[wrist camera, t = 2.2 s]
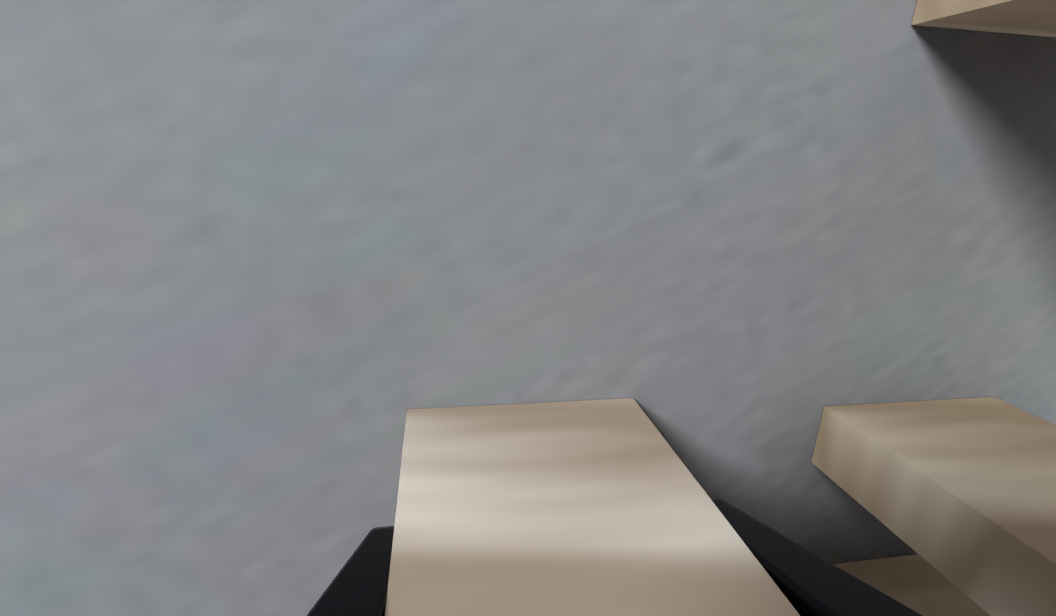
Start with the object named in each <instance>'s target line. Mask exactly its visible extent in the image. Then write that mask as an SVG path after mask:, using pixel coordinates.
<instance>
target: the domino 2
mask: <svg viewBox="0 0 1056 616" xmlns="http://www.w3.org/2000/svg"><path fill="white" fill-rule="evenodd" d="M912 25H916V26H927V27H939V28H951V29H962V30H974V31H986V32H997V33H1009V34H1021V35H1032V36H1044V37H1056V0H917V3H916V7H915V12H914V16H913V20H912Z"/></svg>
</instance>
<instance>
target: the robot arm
mask: <svg viewBox="0 0 1056 616" xmlns="http://www.w3.org/2000/svg"><path fill="white" fill-rule="evenodd" d="M710 499H711V500H712V501H713V503H714V504H715V505H716V507H717V508H718V509H719V511H720V512H721V513H722V514H723V516H724V517H725V518H726V520H727V521H728V522H729V524H730V525H731V526H732V527H733V529H734V530H735V531H736V533H737V534H738V535H739V537H740V538H741V539H742V541H743V542H744V543H745V544H746V546H747V547H748V548H749V550H750V551H751V552H752V554H753V555H754V556H755V558H756V559H757V560H758V561H759V563H760V564H761V565H762V567H763V568H764V569H765V570H766V572H767V573H768V574H769V576H770V577H771V578H772V580H773V581H774V582H775V584H776V585H777V586H778V587H779V589H780V590H781V591H782V593H783V594H784V595H785V597H786V598H787V599H788V600H789V602H790V603H791V604H792V606H793V607H794V608H795V610H796V611H797V612H798V614H799V615H800V616H923V615H921V614H920V613H918V612H916V611H914V610H913V609H911V608H909V607H907V606H906V605H904V604H902V603H900V602H899V601H897V600H895V599H893V598H892V597H890V596H888V595H886V594H885V593H883V592H881V591H880V590H878V589H876V588H874V587H873V586H871V585H869V584H867V583H866V582H864V581H862V580H860V579H859V578H857V577H855V576H853V575H852V574H850V573H848V572H846V571H845V570H843V569H841V568H839V567H838V566H836V565H834V564H832V563H831V562H829V561H827V560H825V559H824V558H822V557H820V556H818V555H817V554H815V553H813V552H811V551H810V550H808V549H806V548H805V547H803V546H801V545H799V544H798V543H796V542H794V541H792V540H791V539H789V538H787V537H785V536H784V535H782V534H780V533H778V532H777V531H775V530H773V529H771V528H770V527H768V526H766V525H764V524H763V523H761V522H759V521H757V520H756V519H754V518H752V517H750V516H749V515H747V514H745V513H743V512H742V511H740V510H738V509H737V508H735V507H733V506H731V505H730V504H728V503H726V502H724V501H723V500H721V499H718V498H710ZM393 535H394V526H387V527H376V528H373V529H372V530H371V531H370V532H369V533H368V535H367V536H366V537H365V539H364V540H363V541H362V543H361V544H360V545H359V547H358V548H357V549H356V551H355V552H354V553H353V555H352V556H351V557H350V559H349V560H348V561H347V563H346V564H345V565H344V567H343V568H342V569H341V571H340V572H339V573H338V575H337V576H336V577H335V579H334V580H333V581H332V583H331V584H330V585H329V587H328V588H327V589H326V591H325V592H324V593H323V595H322V596H321V597H320V599H319V600H318V601H317V603H316V604H315V605H314V607H313V608H312V609H311V611H310V612H309V613H308V615H307V616H385V609H386V599H387V590H388V581H389V572H390V562H391V553H392V544H393Z"/></svg>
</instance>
